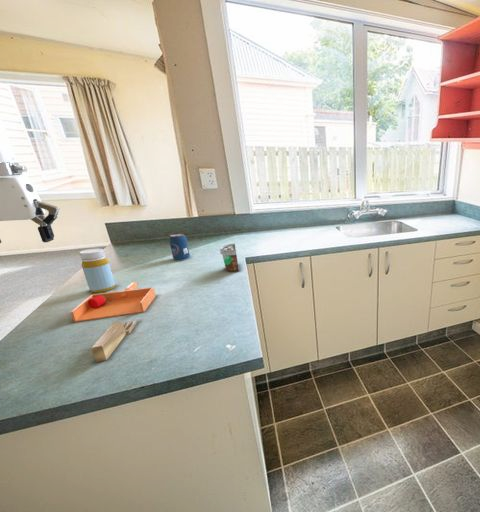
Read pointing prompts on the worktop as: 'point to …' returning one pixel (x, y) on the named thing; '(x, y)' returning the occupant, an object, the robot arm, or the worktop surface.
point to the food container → (230, 257)
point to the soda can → (179, 247)
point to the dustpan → (116, 304)
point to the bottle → (97, 270)
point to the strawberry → (97, 301)
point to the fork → (111, 340)
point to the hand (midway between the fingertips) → (22, 242)
